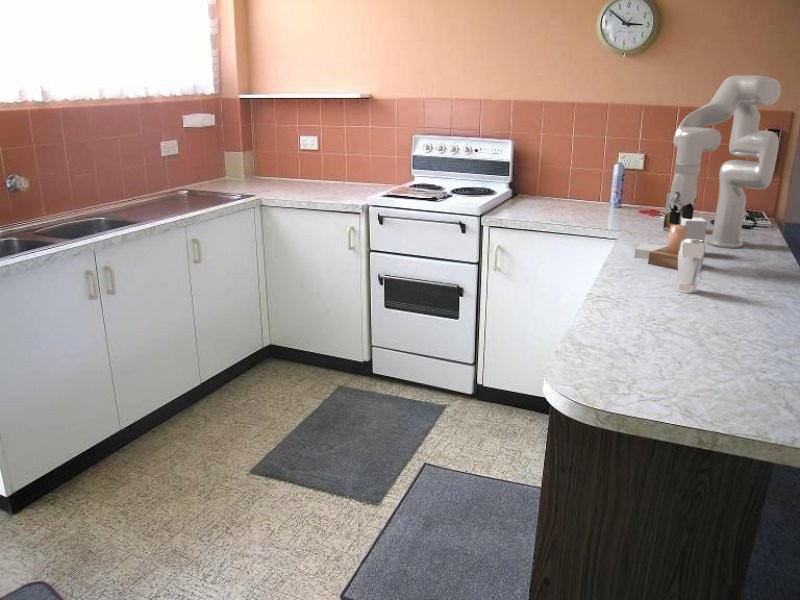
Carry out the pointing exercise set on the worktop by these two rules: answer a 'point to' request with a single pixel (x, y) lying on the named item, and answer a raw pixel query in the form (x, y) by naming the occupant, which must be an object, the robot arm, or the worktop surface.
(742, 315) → the worktop surface
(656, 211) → the worktop surface
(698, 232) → the supplement box
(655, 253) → the walnut plinth
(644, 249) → the white plinth
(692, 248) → the beer glass
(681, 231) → the glossy peach capsule
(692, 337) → the worktop surface
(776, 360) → the worktop surface
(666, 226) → the coffee box
